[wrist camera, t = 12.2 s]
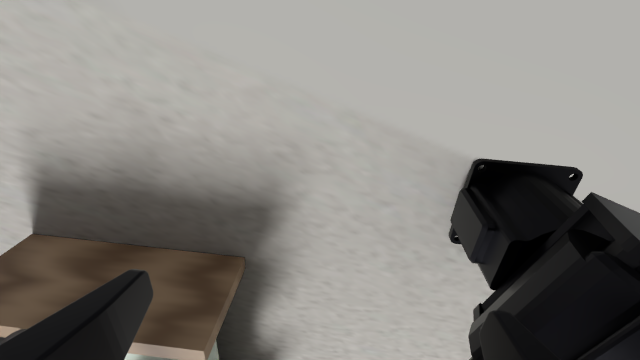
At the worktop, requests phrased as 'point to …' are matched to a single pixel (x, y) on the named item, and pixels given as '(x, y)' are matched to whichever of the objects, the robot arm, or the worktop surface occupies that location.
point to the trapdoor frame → (104, 265)
